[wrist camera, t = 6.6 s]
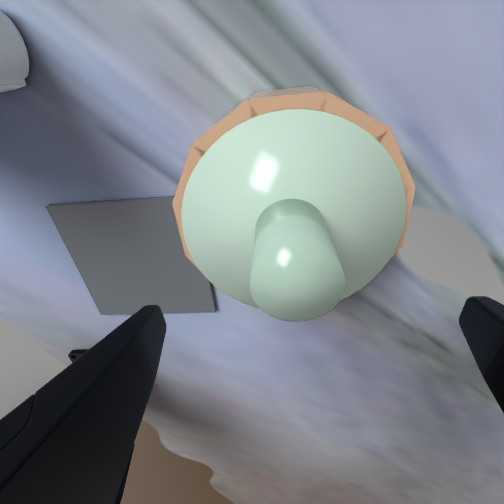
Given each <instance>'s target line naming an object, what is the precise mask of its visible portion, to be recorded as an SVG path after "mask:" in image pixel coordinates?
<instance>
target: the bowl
mask: <svg viewBox="0 0 504 504" xmlns="http://www.w3.org/2000/svg"><path fill="white" fill-rule="evenodd" d="M286 108H308V109H315V110H322V111H325V112H329V113H332V114H336V115H338V116H340V117H343V118H345V119H347V120H349V121H351V122H353V123H355V124H356V125H358V126H359V127H361V128H362V129H364V130H365V131H367V132H368V133H370V134H371V135H372V136H373V137H374V138H375V139H376V140H377V141H379V142H380V143H381V144H382V145H383V147H384V148H385V149H386V150H387V152H388V153H389V154H390V156H391V157H392V159H393V161H394V162H395V164H396V166H397V168H398V170H399V172H400V175H401V178H402V181H403V184H404V190H405V196H406V216H405V223H404V228H403V231H402V234H401V238H400V240H399V243H398V245H397V247H396V249H395V251H394V253H393V254H392V256H391V258H392V257H393V256H394V255H395V253H396V252H397V251H398V250H399V249H400V248H401V247H402V245H403V241H404V237H405V233H406V229H407V224H408V220H409V215H410V211H411V207H412V202H413V198H414V193H415V189H416V188H415V185H414V182H413V180H412V178H411V175H410V173H409V170H408V168H407V166H406V163H405V161H404V158H403V156H402V154H401V151H400V149H399V146H398V144H397V142H396V139H395V137H394V134H393V132H392V130H391V128H390V127H388V126H387V125H385V124H383V123H381V122H380V121H378V120H376V119H374V118H373V117H371V116H369V115H367V114H366V113H364V112H362V111H360V110H359V109H357V108H355V107H353V106H352V105H350V104H348V103H346V102H345V101H343V100H341V99H339V98H338V97H336V96H334V95H332V94H331V93H329V92H327V91H324V90H321V89H318V88H314V87H311V86H307V87H297V88H287V89H277V90H266V91H256V92H254V93H252V94H251V95H250V96H249V97H247V98H246V99H245V100H244V101H242V102H241V103H240V104H239V105H237V106H236V107H235V108H234V109H232V110H231V111H230V112H229V113H227V114H226V115H225V116H224V117H222V118H221V119H220V120H219V121H217V122H216V123H215V124H214V125H212V126H211V127H210V128H209V129H208V130H207V131H206V132H205V133H203V134H202V135H201V136H200V137H199V138H198V139H197V140H196V141H195V142H194V143H192V145H191V148H190V151H189V154H188V157H187V160H186V163H185V166H184V169H183V172H182V175H181V178H180V181H179V184H178V187H177V190H176V193H175V196H174V199H173V202H172V205H173V209H174V213H175V217H176V221H177V225H178V229H179V233H180V237H181V240H182V244H183V248H184V252H185V255H186V257H187V258H188V259H189V260H190V261H191V262H192V263H193V264H194V265H195V266H196V267H197V265H196V264H195V262H194V261H193V259H192V257H191V255H190V253H189V251H188V249H187V245H186V242H185V239H184V235H183V229H182V217H181V211H182V202H183V196H184V193H185V189H186V185H187V183H188V181H189V178H190V176H191V174H192V171H193V170H194V168H195V167H196V165H197V163H198V162H199V160H200V159H201V157H202V156H203V155H204V154H205V153H206V151H207V150H208V149H209V148H210V147H211V145H212V144H213V143H214V142H215V141H216V140H217V139H219V138H220V137H221V136H222V135H223V134H224V133H225V132H227V131H228V130H230V129H231V128H233V127H234V126H236V125H237V124H239V123H241V122H243V121H245V120H247V119H249V118H251V117H253V116H256V115H259V114H262V113H266V112H269V111H274V110H280V109H286ZM391 258H390V259H391ZM390 259H389V260H390ZM197 268H198V267H197ZM366 286H367V284H366V285H365V286H364V287H366ZM364 287H362V288H364ZM216 288H217V287H216ZM362 288H361V289H362ZM217 289H218V288H217ZM218 290H219V289H218ZM219 291H220V292H222V291H221V290H219ZM222 293H223V292H222Z"/></svg>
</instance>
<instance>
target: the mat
mask: <svg viewBox="0 0 504 504" xmlns="http://www.w3.org/2000/svg"><path fill="white" fill-rule="evenodd" d="M173 199H174V196H170V197H154V198H139V199H124V200H108V201H93V202H78V203H62V204H50V205H48V206H46V208H47V210H48V212H49V214H50V215H51V217H52V219H53V221H54V223H55V225H56V227H57V229H58V231H59V233H60V235H61V237H62V239H63V241H64V243H65V245H66V247H67V249H68V251H69V253H70V255H71V257H72V259H73V261H74V263H75V265H76V267H77V269H78V271H79V272H80V274H81V276H82V278H83V280H84V282H85V284H86V286H87V288H88V290H89V292H90V294H91V296H92V298H93V300H94V302H95V304H96V306H97V308H98V310H99V312H100V314H101V315H110V314H135V313H136V312H137V311H139V310H140V309H141V308H142V307H144V306H145V305H159V306H160V308H161V311H162V313H187V312H215V311H216V305H215V301H214V296H213V291H212V286H211V282H210V281H209V280H208V279H207V278H206V277H205V276H204V275H203V273H202V272H201V271H200V270H199V269H198V268H197V267H196V266H195V265H194V264H193V263H192V262H191V261H190V260H189V259H188V258H187V257H186V255H185V252H184V248H183V244H182V240H181V237H180V233H179V229H178V225H177V221H176V217H175V213H174V209H173V205H172V202H173Z"/></svg>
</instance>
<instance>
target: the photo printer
mask: <svg viewBox="0 0 504 504" xmlns="http://www.w3.org/2000/svg"><path fill="white" fill-rule="evenodd" d="M28 73H29V58H28V53H27V49H26V46H25V44H24V41H23V39H22V37H21V35H20V33H19V31H18V30H17V28H16V27H15V25H14V24H13V22H12V21H11V20H10V19H9V18H8V16H7V15H5V14H4V13H2V12H1V11H0V92H5V91H10V90H14V89H18V88H21V87H24V86H26V82H25V78H26V77H27V76H28Z"/></svg>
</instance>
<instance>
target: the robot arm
mask: <svg viewBox="0 0 504 504" xmlns="http://www.w3.org/2000/svg"><path fill="white" fill-rule="evenodd" d="M459 324H460V327H461V329H462V332H463V334H464V336H465V338H466V341H467V343H468V345H469V347H470V350H471V352H472V354H473V356H474V359H475V361H476V363H477V365H478V367H479V370H480V372H481V374H482V376H483V378H484V380H485V381H486V383H487V385H488V387H489V389H490V390H491V392H492V394H493V395H494V397H495V399H496V401H497V402H498V404H499V406H500V408H501V409H502V411H503V413H504V305H503V304H501V303H499V302H497V301H495V300H493V299H491V298H489V297H485V296H473V297H469V298H468V299H467V300H466V302H465V305H464V307H463V310H462V312H461V314H460V317H459ZM165 333H166V322H165V319H164V316H163V313H162V311H161V308H160V306H159V305H145V306H144V307H142V308H141V309H140V310H139V311H137V312H136V313H135V314H133V315H132V316H131V317H130V318H128V319H127V320H126V321H125V322H123V323H122V324H121V325H120V326H118V327H117V328H116V329H115V330H113V331H112V332H111V333H110V334H108V335H107V336H106V337H105V338H103V339H102V340H101V341H99V342H98V343H97V344H96V345H94V346H93V347H92V348H91V349H89V350H72V351H71V352H70V353H69V355H68V356H69V358H70V360H71V361H72V364H71V365H69V366H68V367H67V368H66V369H64V370H63V371H62V372H61V373H59V374H58V375H57V376H55V377H54V378H53V379H52V380H50V381H49V382H48V383H47V384H45V385H44V386H43V387H42V388H40V389H39V390H38V391H37V392H36V393H35V394H33V395H31V396H30V397H29V398H28V399H26V400H25V401H24V402H23V403H21V404H20V405H19V406H18V407H16V408H15V409H14V410H12V411H11V412H10V413H8V414H7V415H6V416H5V417H3V418H2V419H1V420H0V504H120V502H121V499H122V495H123V491H124V487H125V483H126V478H127V474H128V470H129V466H130V462H131V457H132V453H133V449H134V441H135V438H136V435H137V432H138V429H139V426H140V423H141V420H142V417H143V414H144V411H145V408H146V405H147V402H148V399H149V396H150V393H151V390H152V387H153V384H154V381H155V378H156V374H157V370H158V366H159V361H160V356H161V352H162V347H163V343H164V338H165Z"/></svg>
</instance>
